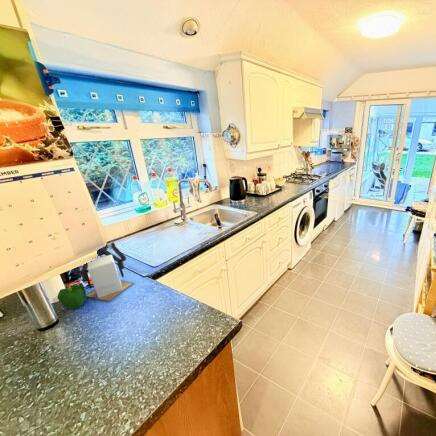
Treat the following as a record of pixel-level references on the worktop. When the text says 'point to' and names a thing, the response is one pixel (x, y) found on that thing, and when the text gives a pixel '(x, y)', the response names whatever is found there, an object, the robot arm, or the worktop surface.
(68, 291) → the bell pepper
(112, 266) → the white product box
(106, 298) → the coaster
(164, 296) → the worktop surface
